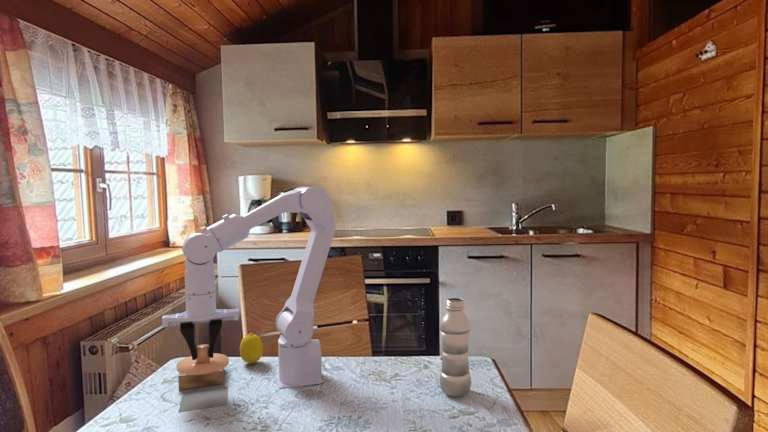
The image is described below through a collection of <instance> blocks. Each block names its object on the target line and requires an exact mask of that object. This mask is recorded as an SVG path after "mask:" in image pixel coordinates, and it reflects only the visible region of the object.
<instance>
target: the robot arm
mask: <svg viewBox="0 0 768 432" xmlns="http://www.w3.org/2000/svg"><path fill="white" fill-rule="evenodd" d="M333 202H334V201H333V200H332V198H331V196H330V195H329V193H328V192H327V191H326V190H325V189H324V188H323V187H320V186H317V185H313V186H306V185H305V186H304V185H303V186H298V187H297V188H295V189H292V190H288V191H286V192H284V193H282V194H280V195H278V196H275V197H274V198H272V199H271V200H268V201H267V202H265V203H263V204H262V205H260V206H258V207H257V208H255V209H253V210H251V211H249V212H248V213H246V214H244V215H239V214H235V213H233V214H231V215H229V214H224V215H222V217H221V218H222V219H221V220H219V221H217V222H216V223H213V224H211V225H210V226H208V227H206V226H203V227H200V231H201V232H200V233H199V232H195V233H192V234H190V235H188V236H187V237H186V238H185V240H184V241H183V244H182V247H181V250H182V254H183V255H184V256H185V257H186V258H185V260H184V268H185V269H184V290H185V291H184V293H185V294H184V295H185V312H179V313H174V314H173V313H172V314H166V315H163V316H162V317H161V327H162V328H169V327H174V326H179V327H180V329H179V331H180V334H181V335H182V337H183V338H184V340H185V342H186V343H187V345H188V348H189V351H190V354H191V356H192V360H196V346H197V343H196V324H202V323H203V324H204V323H209V324H208V332H209V334H208V335H209V346H210V349H209V358H213V353H215V352H214V350H215V346H216V342H217V339H218V336H219V334H220V331H221V329H222V327H223V322H224V321H239V320H240V314H239V308H230V309H229V308H227V309H226V308H225V309H224V308H222V309H221V308H220V309H218V308H217V299H216V298H217V296H216V274H215V273H216V270H215V267H214V258H215V256H216V254H217V253H221V252H223V251H225V250H227V249H229V248H231V247H233V246H235V245H236V244H238V243H240V242H242V241H244V240H246V239H247V238H248V237H249V233H250V231H251V230H252V229H253V228H255V227H257V226H260V225H262V224H264V223H266V222H268V221H270V220H272V219H274V218H276V217H277V216H280V215H282V214H286V213H296V214H297V213H298V214H299V215H300V216H301V217H302V218H303V219H304V220H305V222H306V224H307V225H308V227H309V228H310V234H309V237H308V240H307V243H306V247H305V249H304V252H303V256H302V259H301V263H300V265H299V269H298V272H297V275H296V279H295V282H294V285H293V288H292V291H291V295H290V296H289V297H288V299H287V300H286V301H285V302H284V303H285V304H284V306H283V308H282V310H280V312H279V313H278V314H277V316H276V319H275V328H276V330H277V331H278V332H279V333H280V335H279V338H278V340H277V343H278V344H277V345H278V346H277V348H278V349H277V350H278V352H277V353H278V372H277V373H276V374H275V376H276V382H277V385H278V389H281V390H282V389H288V388H289V389H290V388H295V387H307V386H312V385H313V386H314V385H319V384H323V374H322V372H323V369H322V366H323V365H322V364H323V363H322V348H321V342H320V339H318V338H316V339H315V338H314V339H313V338H312V337H313V334H314V332H315V331H314V318H315V309H314V302H315V298H316V295H317V291H318V287H319V285H320V281H321V278H322V275H323V272H324V269H325V265H326V262H327V258H328V255H329V252H330V249H331V246H332V243H333V239H334V236H335V233H336V227H337V226H336V221H335V216H334V212H333Z"/></svg>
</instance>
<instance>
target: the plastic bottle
mask: <svg viewBox="0 0 768 432" xmlns="http://www.w3.org/2000/svg"><path fill="white" fill-rule="evenodd" d="M445 309H446V312H445V314H444V315H443V316H442V317H441V320H440V322H439V331H440V339H441V348H442V358H441V359H442V361H441V363H442V364H441V371H440V377H439V385H440V389H441V391H442V392H443V393H444V394H445V395H447V396H449V397H455V398H456V397H459V398H461V397H464V396H466V395H467V394H469V392H470V390H471V386H472V378H471V371H470V364H469V346H470V345H469V342H470V337H471V336H470V335H471V327H472V325H471V321H470V319H469V317H468V316H467V315H466V313H465V312H464V310H465V299H463V298H462V297H461V298H460V297H449V298H447V299H446V305H445Z"/></svg>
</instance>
